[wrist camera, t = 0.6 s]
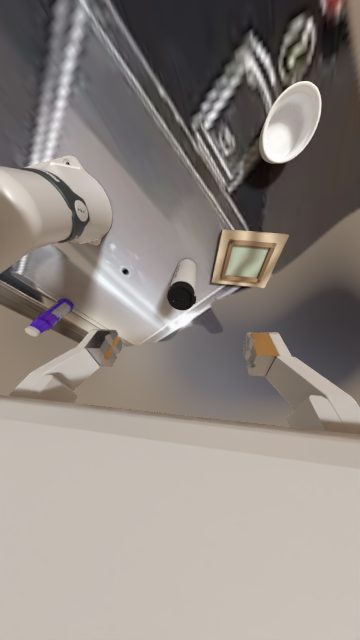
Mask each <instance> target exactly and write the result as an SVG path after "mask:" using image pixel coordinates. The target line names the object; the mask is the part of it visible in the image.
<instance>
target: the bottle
mask: <svg viewBox="0 0 360 640" xmlns="http://www.w3.org/2000/svg"><path fill="white" fill-rule="evenodd" d="M72 308H73V305H72V304H71V303H70V302H69V301H67V300H65V299H62V300H59V301H58V302H57V303H55V304H54V305H53V306H51V307H50V308H48V309H47V310H46V311H44V312H42V313H41V314H40V315H39V316H38V317H37V318H35V319H33V322H32V323H31V325H29V326H28V327H27V328H25V332H26V333H28V334H29V335H31V336H34V337H36V336H38V335H39V334H40V333H42V332H43V331H46V330H49V329H50V327H52V326H54V325H55V324H56V323H57V322H58V321H59V320H61V319H62V318H63V317H64V316H65V315H67V314H68V313H69V312H70V311H71V310H72Z"/></svg>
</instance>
